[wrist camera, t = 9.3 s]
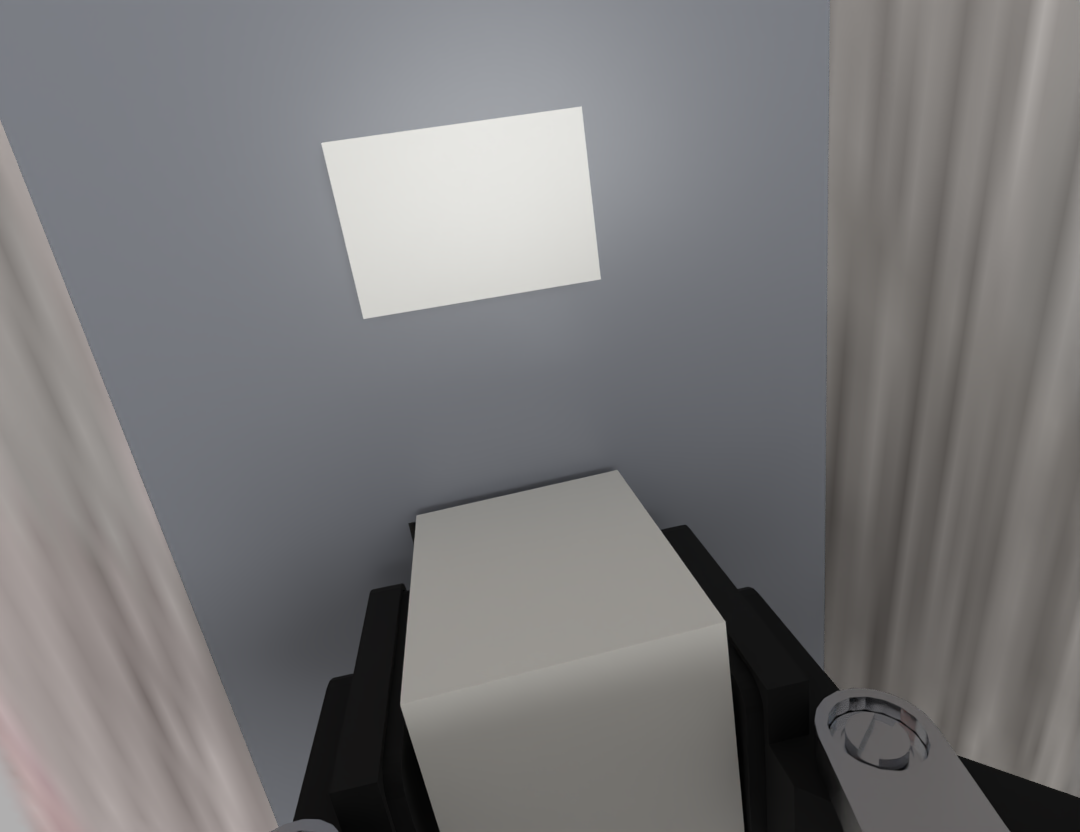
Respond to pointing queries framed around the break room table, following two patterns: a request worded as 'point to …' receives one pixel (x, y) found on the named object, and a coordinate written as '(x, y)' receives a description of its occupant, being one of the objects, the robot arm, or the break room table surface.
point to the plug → (566, 669)
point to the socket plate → (434, 287)
